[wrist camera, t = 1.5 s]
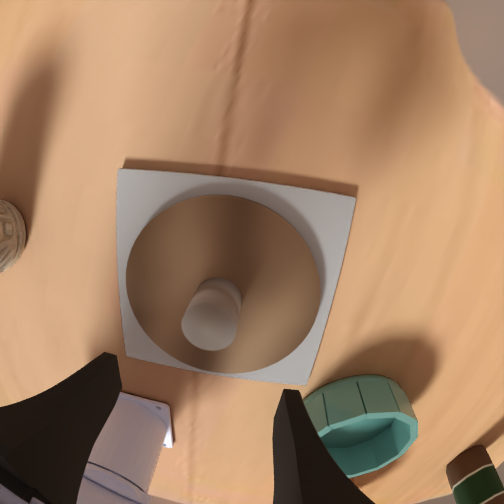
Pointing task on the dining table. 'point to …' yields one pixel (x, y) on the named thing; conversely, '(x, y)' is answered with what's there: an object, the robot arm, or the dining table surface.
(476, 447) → the beer bottle
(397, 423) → the bowl
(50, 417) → the robot arm
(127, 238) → the mat
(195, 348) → the lid
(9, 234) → the carving
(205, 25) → the dining table surface
